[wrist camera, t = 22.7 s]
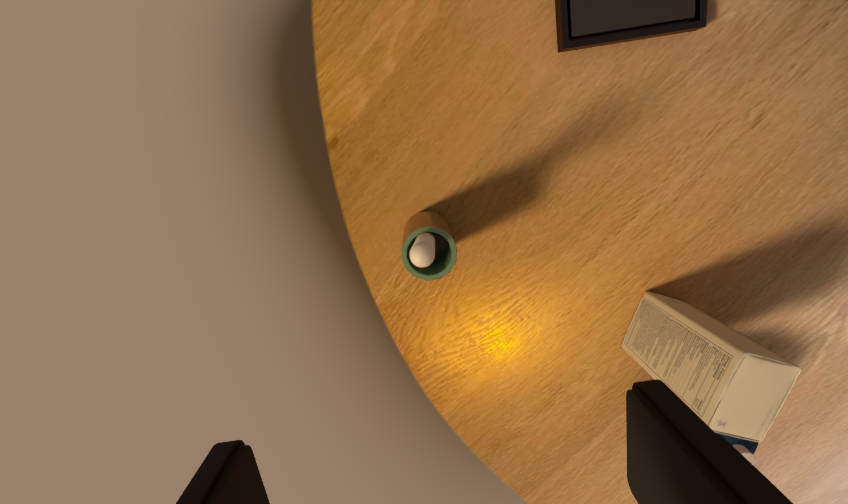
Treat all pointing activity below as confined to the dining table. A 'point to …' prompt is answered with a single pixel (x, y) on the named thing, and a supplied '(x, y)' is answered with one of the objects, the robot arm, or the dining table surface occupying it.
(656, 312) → the cosmetic box
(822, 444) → the dining table surface
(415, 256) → the stylus
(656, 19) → the screen
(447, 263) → the pen pot
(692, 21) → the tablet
